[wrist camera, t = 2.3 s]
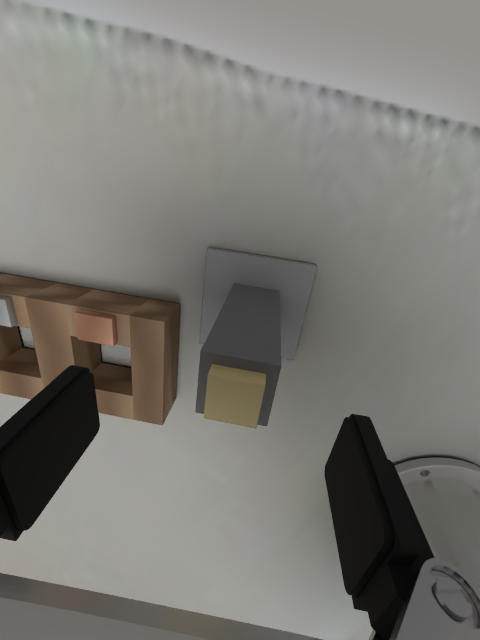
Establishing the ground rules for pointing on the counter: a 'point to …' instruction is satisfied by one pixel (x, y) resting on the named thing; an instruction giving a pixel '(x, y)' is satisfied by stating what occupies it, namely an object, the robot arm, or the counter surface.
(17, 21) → the counter surface
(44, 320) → the socket board
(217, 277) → the mat
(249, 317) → the plug
